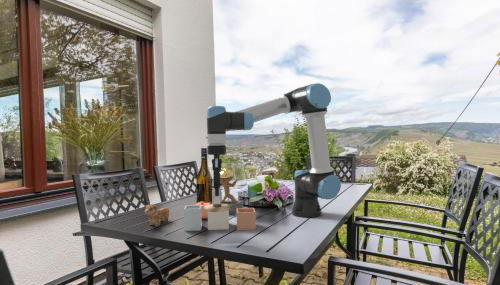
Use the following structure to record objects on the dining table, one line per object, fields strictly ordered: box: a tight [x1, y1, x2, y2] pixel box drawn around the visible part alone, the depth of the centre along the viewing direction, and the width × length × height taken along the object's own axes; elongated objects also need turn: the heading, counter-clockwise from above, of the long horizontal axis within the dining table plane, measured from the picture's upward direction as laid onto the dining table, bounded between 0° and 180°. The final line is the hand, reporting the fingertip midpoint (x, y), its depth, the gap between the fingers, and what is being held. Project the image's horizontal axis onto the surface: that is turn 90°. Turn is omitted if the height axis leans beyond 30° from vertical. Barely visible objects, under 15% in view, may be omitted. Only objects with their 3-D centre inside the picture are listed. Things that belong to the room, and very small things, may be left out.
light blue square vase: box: [183, 204, 203, 232], centre depth 132 cm, size 7×7×10 cm
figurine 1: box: [143, 204, 170, 227], centre depth 142 cm, size 7×16×10 cm, turn 158°
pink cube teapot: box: [194, 201, 212, 219], centre depth 151 cm, size 8×12×8 cm, turn 83°
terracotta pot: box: [235, 207, 257, 231], centre depth 133 cm, size 8×8×8 cm
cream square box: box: [207, 210, 230, 231], centre depth 134 cm, size 9×9×9 cm
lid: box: [204, 188, 230, 212], centre depth 122 cm, size 10×10×8 cm
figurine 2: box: [220, 166, 244, 216], centre depth 160 cm, size 14×11×25 cm
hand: (217, 202), depth 122 cm, fingers closed on lid, 3 cm apart
